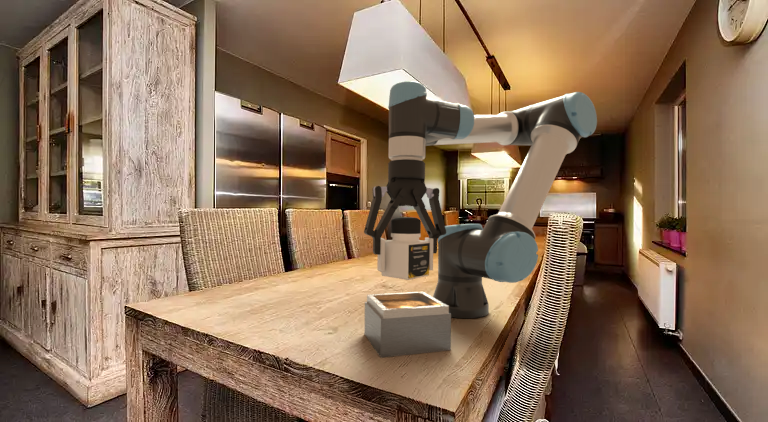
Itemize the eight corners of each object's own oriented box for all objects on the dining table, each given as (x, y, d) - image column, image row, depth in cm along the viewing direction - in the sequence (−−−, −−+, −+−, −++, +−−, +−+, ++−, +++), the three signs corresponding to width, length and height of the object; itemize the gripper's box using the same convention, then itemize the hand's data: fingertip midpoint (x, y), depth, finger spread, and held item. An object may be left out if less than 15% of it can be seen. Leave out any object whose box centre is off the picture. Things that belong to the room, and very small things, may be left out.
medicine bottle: (408, 280, 69) (409, 217, 69) (380, 276, 74) (381, 216, 74) (429, 275, 75) (430, 217, 75) (402, 271, 79) (402, 216, 79)
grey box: (424, 328, 82) (425, 291, 82) (450, 350, 70) (451, 305, 70) (364, 334, 79) (364, 294, 79) (380, 357, 66) (380, 310, 66)
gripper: (448, 165, 81) (446, 266, 81) (349, 160, 75) (348, 269, 75) (464, 161, 74) (463, 271, 74) (356, 154, 68) (355, 275, 68)
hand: (405, 270), depth 74 cm, fingers closed on medicine bottle, 10 cm apart
